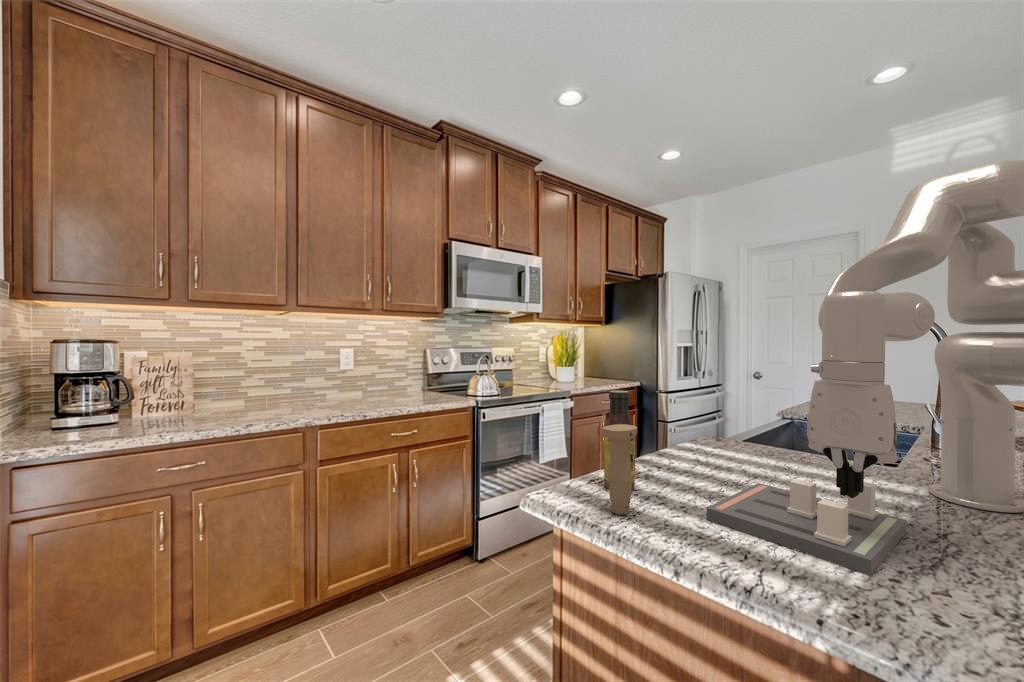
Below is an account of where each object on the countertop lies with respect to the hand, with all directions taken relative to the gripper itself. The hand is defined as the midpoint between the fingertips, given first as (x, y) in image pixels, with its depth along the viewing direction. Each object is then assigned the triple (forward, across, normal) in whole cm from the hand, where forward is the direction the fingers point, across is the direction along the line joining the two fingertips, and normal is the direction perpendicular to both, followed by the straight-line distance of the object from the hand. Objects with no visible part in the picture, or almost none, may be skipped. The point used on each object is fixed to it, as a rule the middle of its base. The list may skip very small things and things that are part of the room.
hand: (849, 494), depth 65 cm
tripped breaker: (+5, -6, +1) cm, 8 cm away
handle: (+8, -28, -18) cm, 35 cm away
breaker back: (+5, 0, +8) cm, 9 cm away
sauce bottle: (+8, -36, -8) cm, 38 cm away
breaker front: (+5, 0, -6) cm, 8 cm away
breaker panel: (+7, -6, +1) cm, 10 cm away
